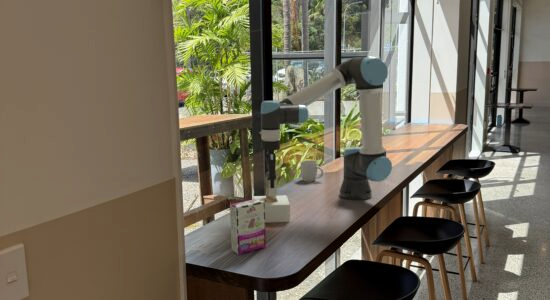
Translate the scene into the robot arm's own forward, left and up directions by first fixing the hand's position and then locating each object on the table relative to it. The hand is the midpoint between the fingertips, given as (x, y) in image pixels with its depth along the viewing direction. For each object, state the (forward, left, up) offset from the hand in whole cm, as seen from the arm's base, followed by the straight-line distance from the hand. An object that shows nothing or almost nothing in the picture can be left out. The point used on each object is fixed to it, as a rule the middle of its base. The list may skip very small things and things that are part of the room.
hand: (271, 191), depth 199 cm
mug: (-26, -61, -11) cm, 67 cm away
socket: (0, 0, -11) cm, 11 cm away
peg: (0, 0, -11) cm, 11 cm away
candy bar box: (+10, +35, -11) cm, 38 cm away
